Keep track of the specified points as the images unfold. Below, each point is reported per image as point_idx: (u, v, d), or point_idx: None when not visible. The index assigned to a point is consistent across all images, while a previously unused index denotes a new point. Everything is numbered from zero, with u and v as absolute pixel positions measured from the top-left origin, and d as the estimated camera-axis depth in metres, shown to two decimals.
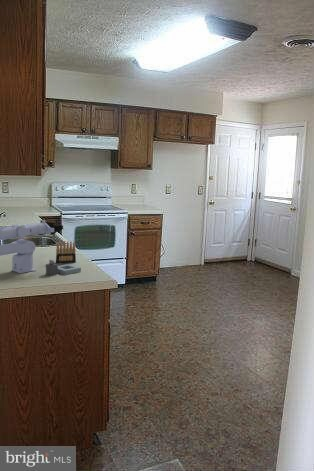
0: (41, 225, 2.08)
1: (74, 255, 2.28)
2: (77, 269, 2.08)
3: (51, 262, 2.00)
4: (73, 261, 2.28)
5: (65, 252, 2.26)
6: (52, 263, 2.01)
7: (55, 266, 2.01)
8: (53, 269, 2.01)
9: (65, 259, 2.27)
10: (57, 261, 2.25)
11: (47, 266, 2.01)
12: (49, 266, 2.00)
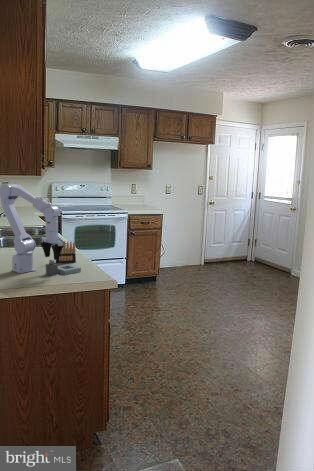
0: None
1: (74, 255, 2.28)
2: (77, 269, 2.08)
3: (51, 262, 2.00)
4: (73, 261, 2.28)
5: (65, 252, 2.26)
6: (52, 263, 2.01)
7: (55, 266, 2.01)
8: (53, 269, 2.01)
9: (65, 259, 2.27)
10: (57, 261, 2.25)
11: (47, 266, 2.01)
12: (49, 266, 2.00)
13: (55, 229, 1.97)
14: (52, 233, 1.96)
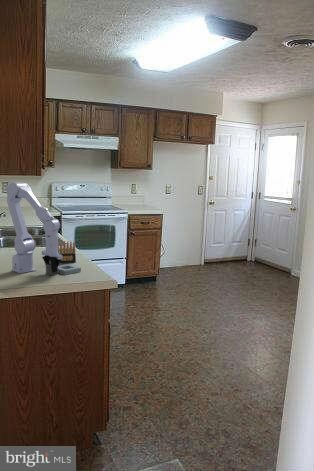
0: None
1: (74, 255, 2.28)
2: (77, 269, 2.08)
3: None
4: (73, 261, 2.28)
5: (65, 252, 2.26)
6: None
7: None
8: None
9: (65, 259, 2.27)
10: None
11: (47, 266, 2.01)
12: (49, 266, 2.00)
13: (55, 242, 1.98)
14: (52, 246, 1.98)
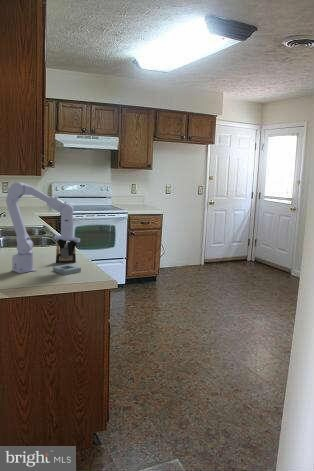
0: (61, 232, 2.05)
1: (74, 255, 2.28)
2: (77, 269, 2.08)
3: (67, 246, 2.06)
4: (73, 261, 2.28)
5: None
6: None
7: None
8: None
9: (65, 259, 2.27)
10: (57, 261, 2.25)
11: (63, 250, 2.06)
12: (65, 250, 2.05)
13: (72, 226, 2.05)
14: (69, 230, 2.03)
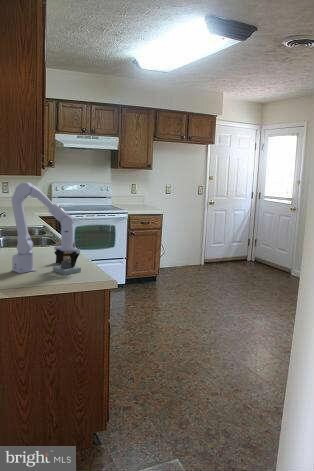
0: (61, 243, 2.06)
1: None
2: (77, 269, 2.08)
3: (67, 260, 2.07)
4: None
5: (65, 252, 2.26)
6: (68, 260, 2.07)
7: (70, 263, 2.08)
8: (69, 267, 2.08)
9: None
10: (57, 261, 2.25)
11: (63, 264, 2.07)
12: (65, 264, 2.06)
13: (72, 237, 2.06)
14: (69, 241, 2.04)
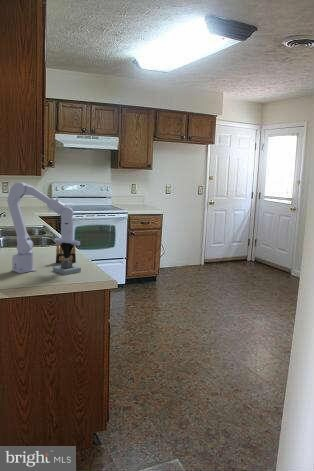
0: (61, 235, 2.05)
1: (74, 255, 2.28)
2: (77, 269, 2.08)
3: (67, 260, 2.07)
4: (73, 261, 2.28)
5: None
6: (68, 260, 2.07)
7: (70, 263, 2.08)
8: (69, 267, 2.08)
9: None
10: (57, 261, 2.25)
11: (63, 264, 2.07)
12: (65, 264, 2.06)
13: (72, 229, 2.05)
14: (69, 233, 2.04)
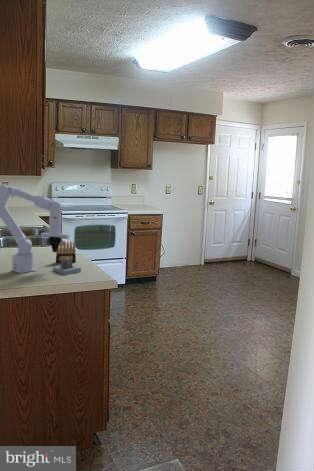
0: (49, 229, 2.06)
1: (74, 255, 2.28)
2: (77, 269, 2.08)
3: (67, 260, 2.07)
4: (73, 261, 2.28)
5: (65, 252, 2.26)
6: (68, 260, 2.07)
7: (70, 263, 2.08)
8: (69, 267, 2.08)
9: None
10: (57, 261, 2.25)
11: (63, 264, 2.07)
12: (65, 264, 2.06)
13: (60, 223, 2.07)
14: (58, 227, 2.05)
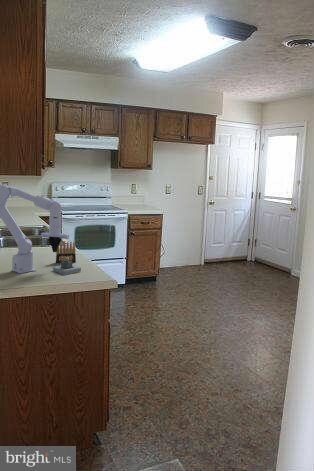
0: (49, 229, 2.06)
1: (74, 255, 2.28)
2: (77, 269, 2.08)
3: (67, 260, 2.07)
4: (73, 261, 2.28)
5: (65, 252, 2.26)
6: (68, 260, 2.07)
7: (70, 263, 2.08)
8: (69, 267, 2.08)
9: None
10: (57, 261, 2.25)
11: (63, 264, 2.07)
12: (65, 264, 2.06)
13: (60, 223, 2.07)
14: (58, 227, 2.05)
